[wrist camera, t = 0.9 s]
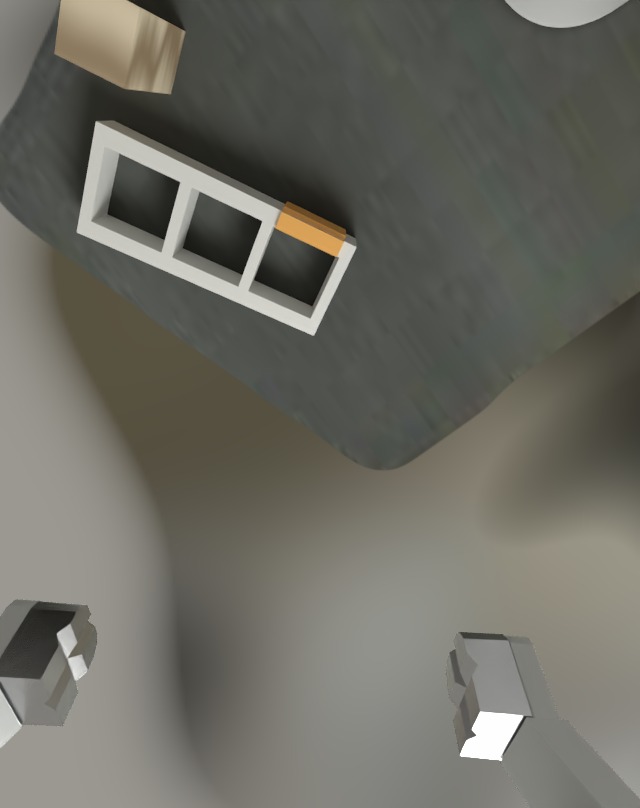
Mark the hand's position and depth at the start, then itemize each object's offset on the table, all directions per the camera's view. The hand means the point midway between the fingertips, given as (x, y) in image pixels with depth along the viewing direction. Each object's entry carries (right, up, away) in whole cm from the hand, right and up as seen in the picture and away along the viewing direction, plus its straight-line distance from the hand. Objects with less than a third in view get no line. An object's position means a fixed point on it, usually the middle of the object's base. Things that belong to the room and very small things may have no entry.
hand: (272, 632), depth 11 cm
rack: (-8, +22, +35) cm, 42 cm away
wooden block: (-13, +34, +28) cm, 46 cm away
